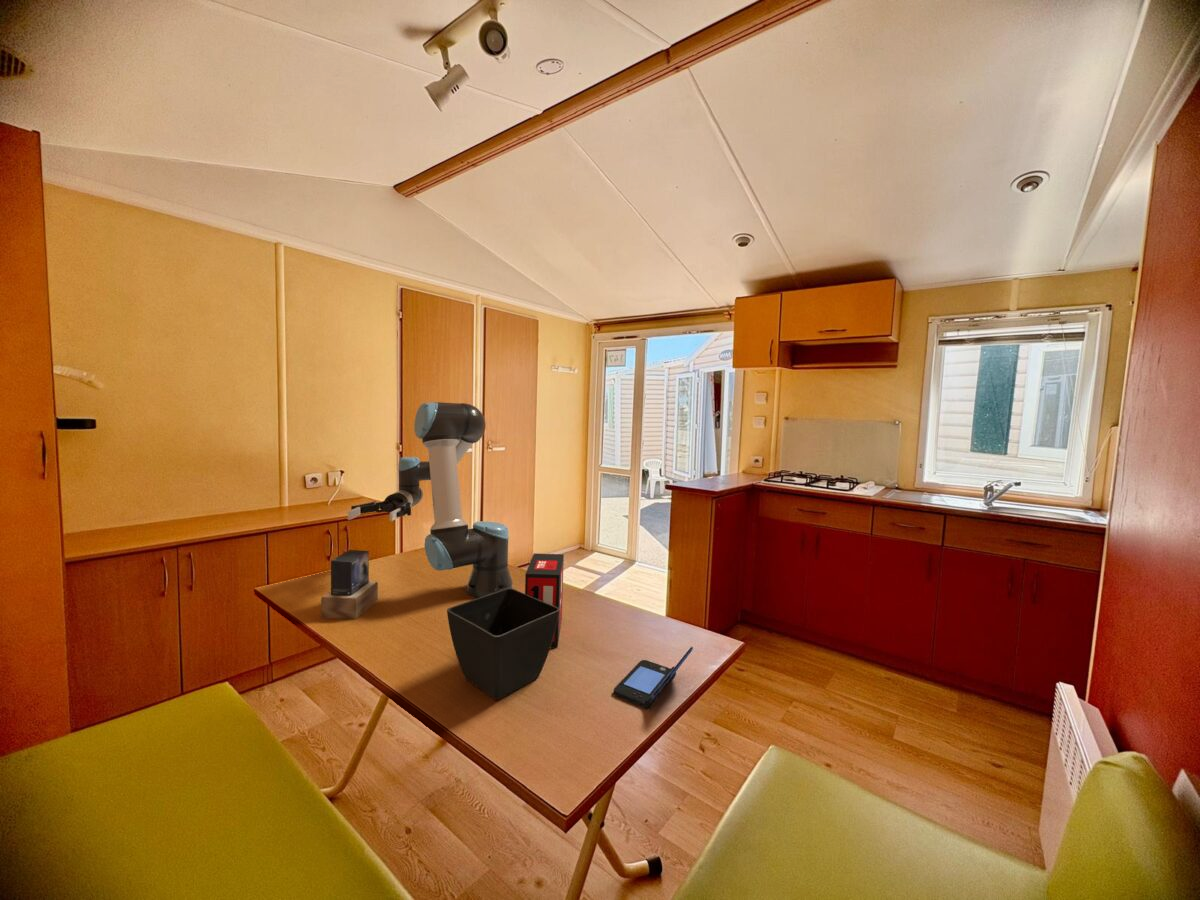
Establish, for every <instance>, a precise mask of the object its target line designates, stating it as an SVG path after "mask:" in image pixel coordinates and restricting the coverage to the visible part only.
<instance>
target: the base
mask: <svg viewBox="0 0 1200 900" xmlns="http://www.w3.org/2000/svg"><path fill="white" fill-rule="evenodd" d="M378 585H379V583H378V581H372V580H369V583H367V584H366V585H365V586H363V587H362V588H361V589H359V590H358V591H356V592H355V593H354V594H352V595H351V596H347V595H331V591H330V592H328V593H326V594H325V595H323V596H321V598H320V602H321V603H320V605H321V619H342V620H357V619H358V618H359V617H361V615H363V614H364V613H365V612H366V611H367V610H369V609H370V608H371V607H372V606H373V605H375V604H376V602H378V600H379V595H378V594H379V591H378V590H379V589H378V588H379V586H378Z"/></svg>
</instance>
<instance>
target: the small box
mask: <svg viewBox="0 0 1200 900" xmlns="http://www.w3.org/2000/svg"><path fill="white" fill-rule="evenodd" d="M369 554H370V551H369V550H359V549H357V550H356V549H349V550H347V551H344V553H342V554H340V555H338V556H336V557H334V558H333V559H331V560H330V592H331V595H347V596H351V595H352V594H354V593H355V592H356V591H358V590H359V589H361V588H362V587H363V586H365V585H366V584H367V583H369V581H370V580H369V579H370V573H369V572H370V571H369V570H370V569H369V567H370V566H369V565H370V555H369Z"/></svg>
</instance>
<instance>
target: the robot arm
mask: <svg viewBox="0 0 1200 900" xmlns="http://www.w3.org/2000/svg"><path fill="white" fill-rule="evenodd" d="M413 428H414V434H415V437H416V438H417V439H419V440H422V446H423V447H425V448H426V449H427V450H428V451H427V453H428V460H427V461H420V458H419V457H417V456H402V457H400V458H399V460H398V468H397V471H398V491H395V492H394V493H391V494H389V495H387V496H386V497H385V499H384V500H383V501H379V502H377V501H370V502H365V503H362V504H357V505H356V504H355V505H352V506H350V508H351V510H348V511H347V520H348V521H349V520H350V521H351V520H353V519H355V518H356V517H357V518H358V517H359V516H361V514H369V513H389V522H393V521H395V520H397V519H398V518H400V517H405V516H406V515H407V516H412V507H414V506H417V505H418V504H419V503H420V502H421V501H422V499H423V497H424V493H423V490H422V488H421V487H420V482H421V481H423V482H424V481H430V485H431V495H432V496H431V497H432V507H433V519H434V521H433V522H434V523H433V524H432V526H431V527H430V528H429V531H430V534H428V535H426V536H425V538H424V552H425V555H426V558H427V560H428V563H429V564H430V567H432V569H434V570H436V571H439V572H440V571H447V570H450V571H451V570H453V569H457V568H462V567H466V566H472V569H471V573H470V576H469V578H468V581H467V588H466V589H467V593H468V594H469V595H470V596H471V597H474V598H480V597H483V596H486V595H489V594H492V593H495V592H498V591H501V590H504V589H507V588H512V589H513V587H514V586H513V580H512V576H511V573H510V570H509V567H508V565H509V563H508V561H509V540H510V537H509V528H508V527H507V525H505V524H503V523H500V522H495V521H489V520H487V521H485V520H483V521H481V520H480V521H476V522H475V521H474V523H473V524H472V528H469V524H468V523H467V522H466V521H465V520H464V519H463V511H462V510H463V509H462V503H461V501H462V500H461V499H462V498H461V493H460V492H461V491H460V490H461V489H460V481H459V480H460V479H459V470H458V464H459V462H460V461H461V460H462V458H463V457H464V456H466V453H467V452H468V451H469V449H470V448H471V447H472V446H473V444H475V443H477V442H479V441H480V440H481V438H483V436H484V434H485V431H486V419H485V417H484V414H483V412H482V411H480V409H479V408H477V407H476V406H474V405H472V404H470V403H467V402H465V403H463V402H460V403H458V402H456V403H455V402H444V401H443V402H440V401H434V402H423V403H421V404H420V405H419V406H418V408H417V410H416V414H415V418H414V427H413Z"/></svg>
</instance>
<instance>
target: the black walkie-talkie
mask: <svg viewBox="0 0 1200 900" xmlns="http://www.w3.org/2000/svg"><path fill="white" fill-rule="evenodd" d="M693 650H694V647H693V646H690V647H689V649H688V650H687V651H686V653H685V654H684V655H683V656H682V658H681V659H680V660H679V661H678V662H677V663H676V665H675V666H672V667H668V666H664V665H662V664H659V663H656V662H653V661H650V660H647V659H642V660H639V662H638V663H637V664H636V665H635V666H634V667H633V668H632V669H631V670H630V671H629V672H628V673H627V674H626V675H625V677H623V678H622V679H621V681H619V682H618V683H617V685H615V687H614V688H613V694H614V696H616V697H617V698H620V699H622V700H625V701H626V702H629V703H631V704H634V705H636V706H640V707H641V708H643V709H645V710H648V709H649V710H651V708H652V707H653V705H654V703H655V702H656V701H657V700H656V699H658V698H659V697H660V696H661V693H662V692H663V690H664V689H665V688H666V687H668V686H669V684H670V683H671V682H672V680H673V679H674V678H675V677H676V675H677V671H678V669H680V667H681V666H682V664H683V663H684V662H685V660H686V659H687V658H688V656H689V655H691V653H692V652H693Z"/></svg>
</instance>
